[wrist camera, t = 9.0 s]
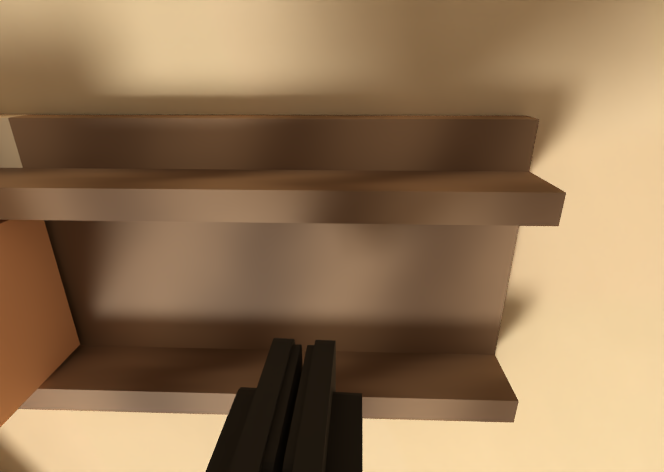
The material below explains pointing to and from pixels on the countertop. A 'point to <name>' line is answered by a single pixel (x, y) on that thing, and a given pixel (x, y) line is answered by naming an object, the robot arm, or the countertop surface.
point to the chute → (279, 253)
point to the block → (30, 313)
